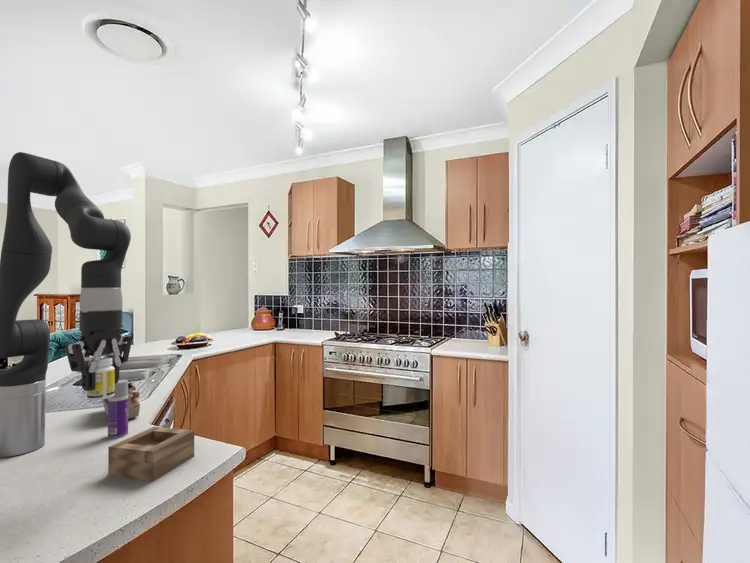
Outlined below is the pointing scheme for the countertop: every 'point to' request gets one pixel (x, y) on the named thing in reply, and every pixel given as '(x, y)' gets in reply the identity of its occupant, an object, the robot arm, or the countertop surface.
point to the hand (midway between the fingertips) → (101, 386)
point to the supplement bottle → (103, 380)
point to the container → (118, 411)
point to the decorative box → (129, 401)
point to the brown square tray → (150, 453)
